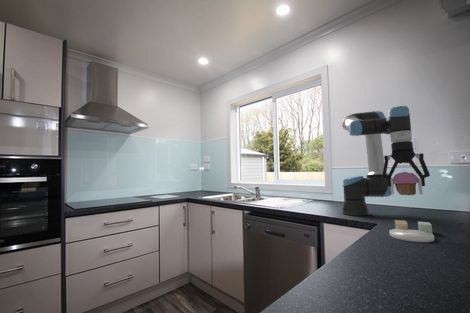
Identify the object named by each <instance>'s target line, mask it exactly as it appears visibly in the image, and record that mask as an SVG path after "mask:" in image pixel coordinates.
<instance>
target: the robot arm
mask: <svg viewBox="0 0 470 313" xmlns="http://www.w3.org/2000/svg"><path fill="white" fill-rule="evenodd" d="M341 125H342V126H341V127H342V128H343V129H344V130H345V131H346V132H347V131H348V133H349V135H350V136H352V137H354V136H355V137H359V136H364V137H365V138H364V139H365V145H366V155H367V166H368V167H367V168H368V173H367V174H366V177H364V175H357V176H349V177H345V178H344V179H343V180H342V187H343V199H344V200H343V205H342V209H341V214H343V215H347V216H356V217H357V216H358V217H360V216H361V217H364V216H369V215H370V208H368V205H367V203H366V198H372V197H373V198H385V197H386V198H388V197H391V195H395V184H394V183H393V177H392V176H393V174H394V172H395V170H396V168H397V167H398V164H409V165H410V166H411V168H412V169H413V171H414V172H415V173H416V175H417V177H418V179H419V181H418V183H417V185H418V186H417V187H418V195H421V196H422V195H424V194H423V193H424V192H423V187H425V186H426V182H425V181H426V180H425V179H427V178H429V177H430V175H431V174H430V172H429V170H428V166H427V164H426V162H425V159H424V153H421V152H420V153H415V151H414V144H413V143H414V142H413V141H412V140H413V133H412V124H411V113H410V109H409V106H407V105H400V106H393V107H391V108H390V109H388V114H387V117H386V116H385V114H384V112H382V111H379V110H377V111H367V112H366V111H365V112H355V113H351V114H349V115H347V116H345V117H344V119H342V123H341ZM382 134H384V135H389V136H390V142H391V144H390V145H391V154H389V155H384V148H383V141H382V140H383V139H382ZM415 157H416V159H417V160H418V161H419V163H420V167H421V169H422V171H423V173H422V172H421V170H420V169H419V167H418V166H417V165H416V163H415V162H414V160H413V159H414V158H415ZM391 159H392V160H394V163H393V164H392V167H391V168H390V171H389V173H388V172H387V170H388V165H389V161H390V160H391Z"/></svg>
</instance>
